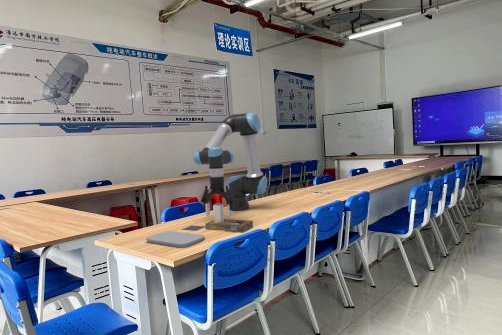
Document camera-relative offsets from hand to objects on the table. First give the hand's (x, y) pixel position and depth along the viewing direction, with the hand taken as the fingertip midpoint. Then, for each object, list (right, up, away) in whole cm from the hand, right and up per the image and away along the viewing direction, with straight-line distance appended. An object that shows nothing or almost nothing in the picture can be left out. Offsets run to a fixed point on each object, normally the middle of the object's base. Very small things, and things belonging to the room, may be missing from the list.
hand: (218, 215), depth 188 cm
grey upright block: (0, -6, 0) cm, 6 cm away
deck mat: (-14, -7, +1) cm, 15 cm away
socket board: (+6, -6, -2) cm, 9 cm away
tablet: (-19, -10, -21) cm, 30 cm away
